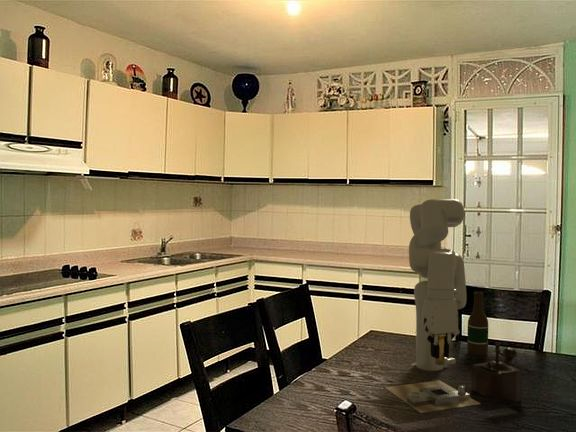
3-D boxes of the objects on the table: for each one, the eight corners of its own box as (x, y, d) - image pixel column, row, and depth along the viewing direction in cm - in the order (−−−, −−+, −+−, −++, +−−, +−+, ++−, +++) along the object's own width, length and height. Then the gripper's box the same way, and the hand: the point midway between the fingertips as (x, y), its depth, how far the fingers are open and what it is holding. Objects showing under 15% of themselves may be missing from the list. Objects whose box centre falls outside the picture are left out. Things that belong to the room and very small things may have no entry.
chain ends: (457, 391, 159) (457, 381, 158) (474, 401, 151) (475, 391, 151) (403, 399, 152) (403, 388, 152) (418, 409, 145) (418, 399, 145)
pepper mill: (468, 394, 160) (469, 337, 159) (495, 389, 165) (496, 333, 164) (508, 414, 146) (510, 350, 145) (536, 407, 151) (538, 346, 150)
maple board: (439, 384, 168) (439, 380, 168) (480, 408, 149) (480, 403, 149) (384, 392, 162) (384, 387, 162) (420, 418, 143) (420, 412, 143)
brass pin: (441, 361, 153) (441, 331, 153) (448, 364, 150) (448, 334, 150) (431, 362, 152) (431, 332, 152) (438, 366, 149) (438, 334, 149)
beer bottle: (465, 349, 208) (466, 290, 207) (485, 350, 206) (486, 290, 206) (469, 355, 200) (470, 293, 199) (490, 356, 199) (491, 294, 198)
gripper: (456, 290, 157) (455, 351, 157) (409, 293, 151) (408, 355, 152) (472, 294, 150) (471, 358, 150) (424, 297, 144) (423, 363, 145)
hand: (439, 356), depth 151 cm, fingers closed on brass pin, 2 cm apart
